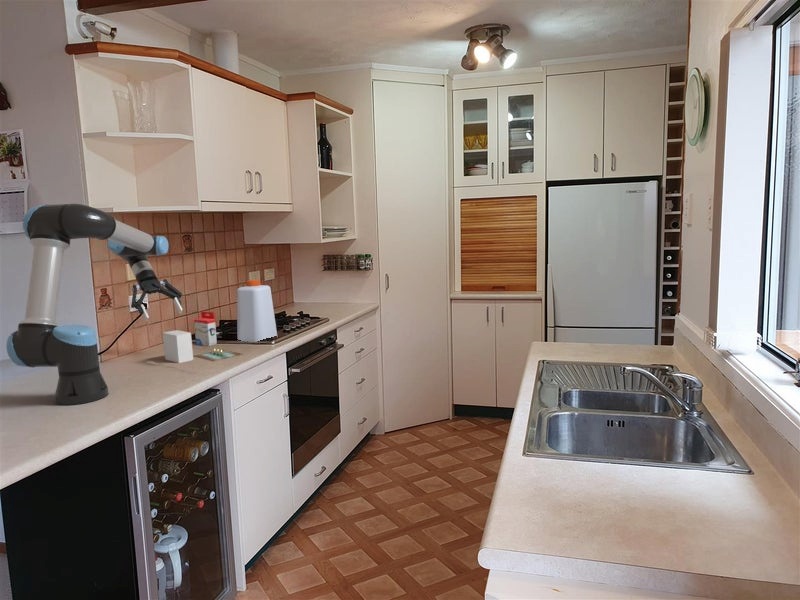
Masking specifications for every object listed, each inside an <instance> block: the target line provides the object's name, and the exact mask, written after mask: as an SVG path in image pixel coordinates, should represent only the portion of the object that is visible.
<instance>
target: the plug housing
mask: <svg viewBox="0 0 800 600" xmlns="http://www.w3.org/2000/svg"><path fill="white" fill-rule="evenodd" d="M162 340H163V350H164V351H163V352H164V360H166V361H171V362H174V363H177V364H182V363H186V362H190V361H194V357H193V356H194V352H193V341H192V333H191V332H188V331H183V330H178V329H176V330H171V331H170V330H169V331H165V332H162Z"/></svg>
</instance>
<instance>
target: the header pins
mask: <svg viewBox="0 0 800 600" xmlns="http://www.w3.org/2000/svg"><path fill="white" fill-rule="evenodd" d="M219 350H220V356H223V353H222V349H219V348H216V347H213V348H212V352H213V355H215V354H216V353H217V355H219Z"/></svg>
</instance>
